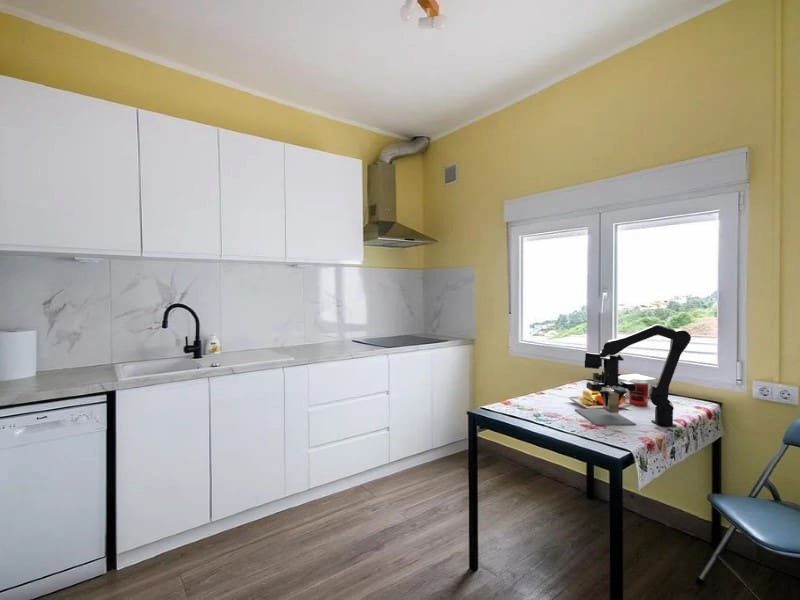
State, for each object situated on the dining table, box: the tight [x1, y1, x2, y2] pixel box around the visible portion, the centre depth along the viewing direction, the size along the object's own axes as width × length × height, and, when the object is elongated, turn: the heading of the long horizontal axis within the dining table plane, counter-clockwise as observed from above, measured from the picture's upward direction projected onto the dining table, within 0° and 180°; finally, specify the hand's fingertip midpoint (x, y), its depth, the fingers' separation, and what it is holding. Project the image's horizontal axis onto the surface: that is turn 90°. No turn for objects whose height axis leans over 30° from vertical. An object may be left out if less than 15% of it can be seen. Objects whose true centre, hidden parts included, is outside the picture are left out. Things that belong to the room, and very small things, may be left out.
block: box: [602, 389, 620, 414], centre depth 174 cm, size 6×4×8 cm, turn 0°
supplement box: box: [610, 373, 658, 400], centre depth 210 cm, size 17×13×9 cm
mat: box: [574, 408, 637, 426], centre depth 174 cm, size 20×16×1 cm
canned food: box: [628, 379, 649, 407], centre depth 193 cm, size 8×8×11 cm
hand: (610, 406), depth 174 cm, fingers closed on block, 4 cm apart
